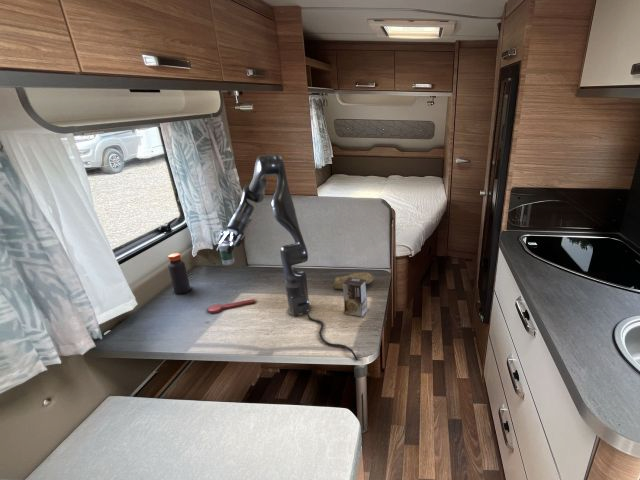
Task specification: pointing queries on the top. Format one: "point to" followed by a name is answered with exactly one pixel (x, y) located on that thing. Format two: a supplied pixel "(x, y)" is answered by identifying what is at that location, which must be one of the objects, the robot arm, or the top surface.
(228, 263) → the can
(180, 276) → the bottle
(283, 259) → the robot arm
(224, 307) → the spoon
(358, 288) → the coffee box
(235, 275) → the top surface
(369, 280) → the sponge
